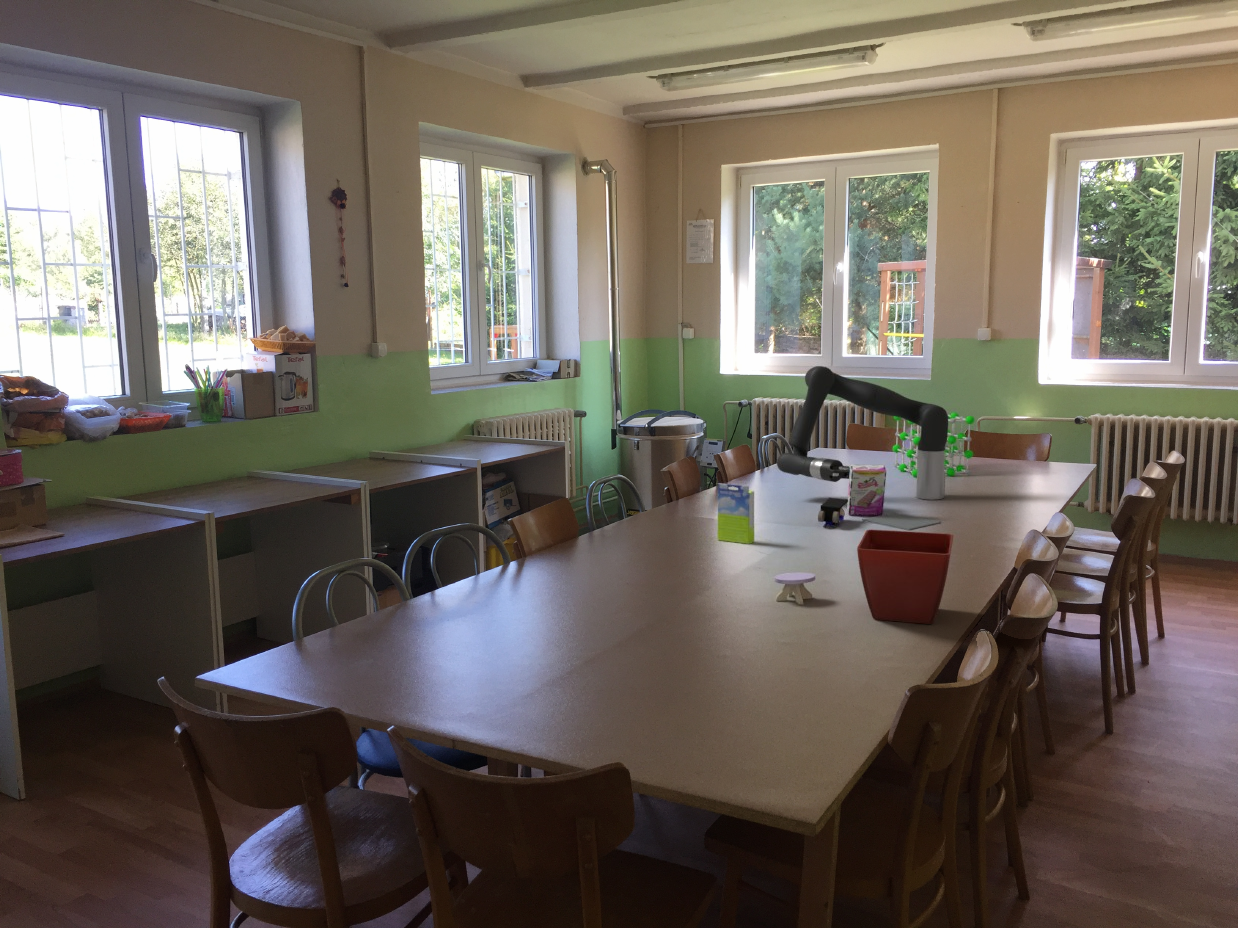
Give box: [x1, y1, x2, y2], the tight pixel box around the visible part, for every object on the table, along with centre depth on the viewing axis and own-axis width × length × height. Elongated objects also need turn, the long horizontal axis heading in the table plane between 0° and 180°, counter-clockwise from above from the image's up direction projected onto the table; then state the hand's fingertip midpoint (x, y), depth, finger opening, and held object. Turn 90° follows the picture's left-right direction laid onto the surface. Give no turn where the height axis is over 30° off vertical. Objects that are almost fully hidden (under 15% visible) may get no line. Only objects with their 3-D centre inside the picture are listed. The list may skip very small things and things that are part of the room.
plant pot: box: [856, 529, 954, 625], centre depth 216 cm, size 19×19×17 cm
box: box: [717, 482, 755, 545], centre depth 286 cm, size 10×4×17 cm, turn 58°
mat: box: [861, 512, 942, 531], centre depth 310 cm, size 16×18×1 cm
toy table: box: [773, 571, 816, 606], centre depth 229 cm, size 10×9×6 cm
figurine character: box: [817, 497, 848, 529], centre depth 307 cm, size 7×8×15 cm
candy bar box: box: [846, 464, 887, 516], centre depth 318 cm, size 11×5×16 cm, turn 84°
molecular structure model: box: [892, 412, 975, 478], centre depth 399 cm, size 24×25×24 cm
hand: (866, 475), depth 319 cm, fingers closed
